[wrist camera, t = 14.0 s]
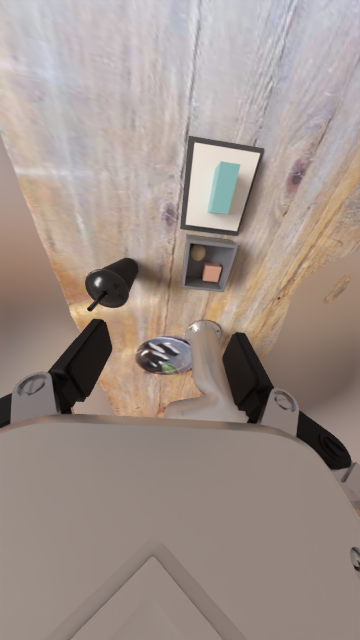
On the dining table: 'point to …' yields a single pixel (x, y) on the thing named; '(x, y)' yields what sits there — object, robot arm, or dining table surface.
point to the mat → (188, 177)
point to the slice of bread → (161, 413)
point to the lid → (219, 186)
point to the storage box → (207, 263)
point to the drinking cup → (111, 283)
